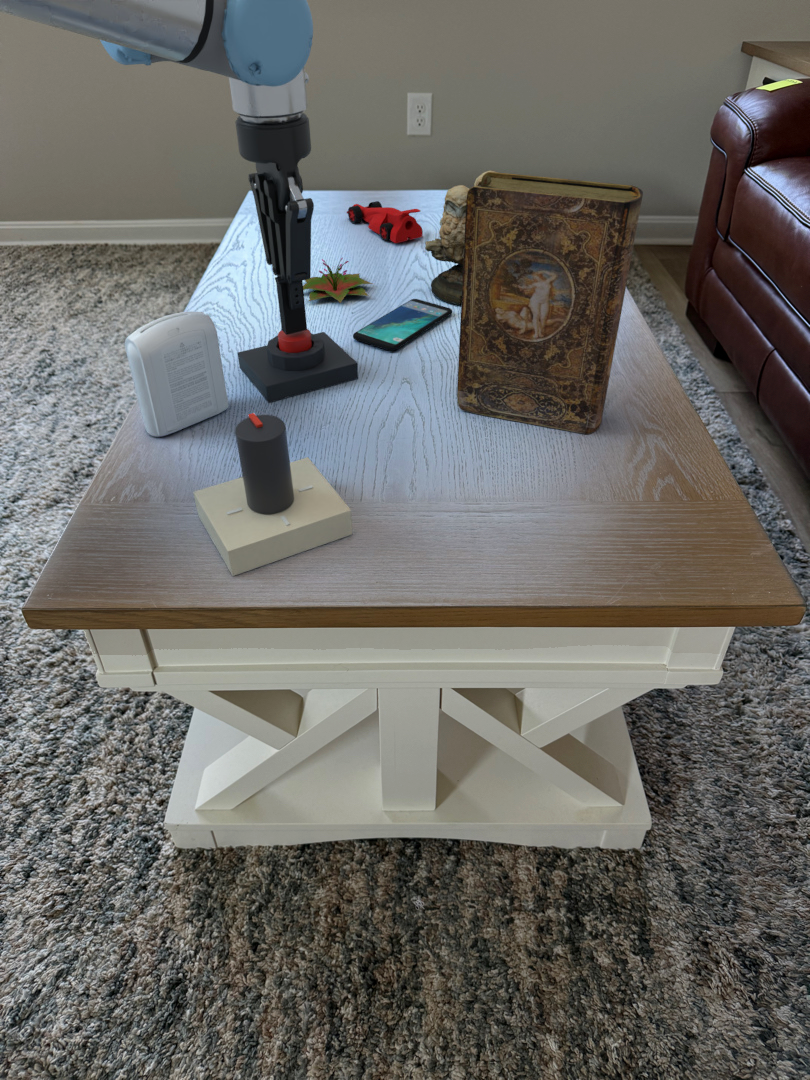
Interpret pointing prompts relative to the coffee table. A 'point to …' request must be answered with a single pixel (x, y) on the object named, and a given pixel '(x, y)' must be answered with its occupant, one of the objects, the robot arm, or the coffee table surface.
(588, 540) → the coffee table surface
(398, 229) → the toy car
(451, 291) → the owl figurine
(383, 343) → the smartphone
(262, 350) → the power box
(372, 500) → the coffee table surface
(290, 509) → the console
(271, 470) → the dial
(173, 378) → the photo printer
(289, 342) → the power button
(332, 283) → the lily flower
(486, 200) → the book
